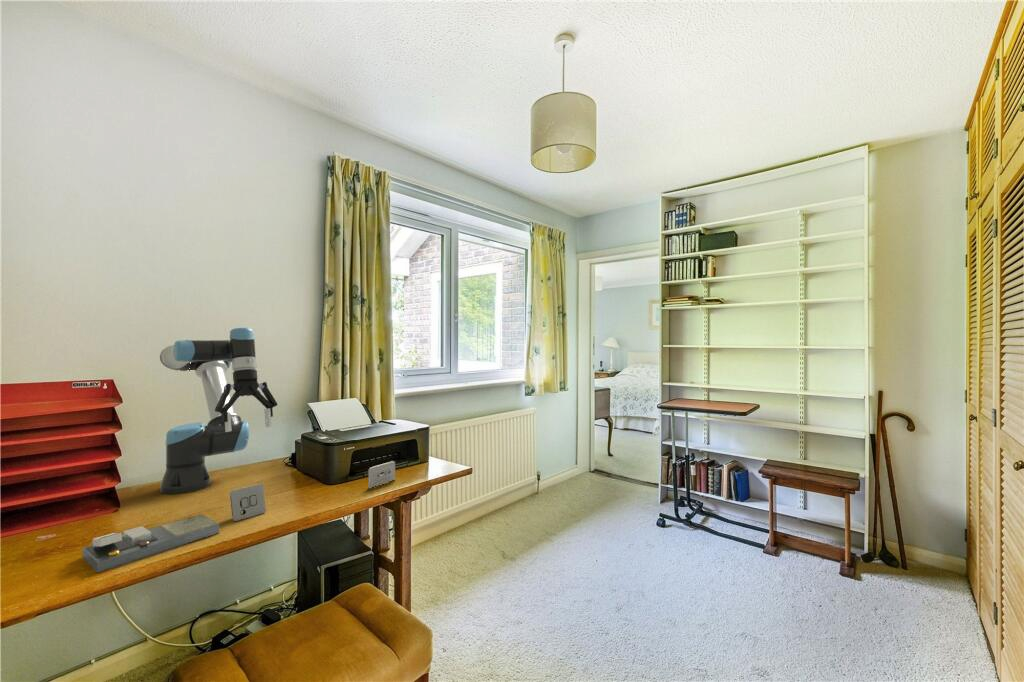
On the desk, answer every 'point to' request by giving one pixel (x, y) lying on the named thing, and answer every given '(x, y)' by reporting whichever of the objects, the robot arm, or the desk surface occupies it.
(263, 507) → the electrical switch
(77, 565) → the desk surface
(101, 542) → the block
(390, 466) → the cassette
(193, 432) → the robot arm
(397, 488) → the desk surface
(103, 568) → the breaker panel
